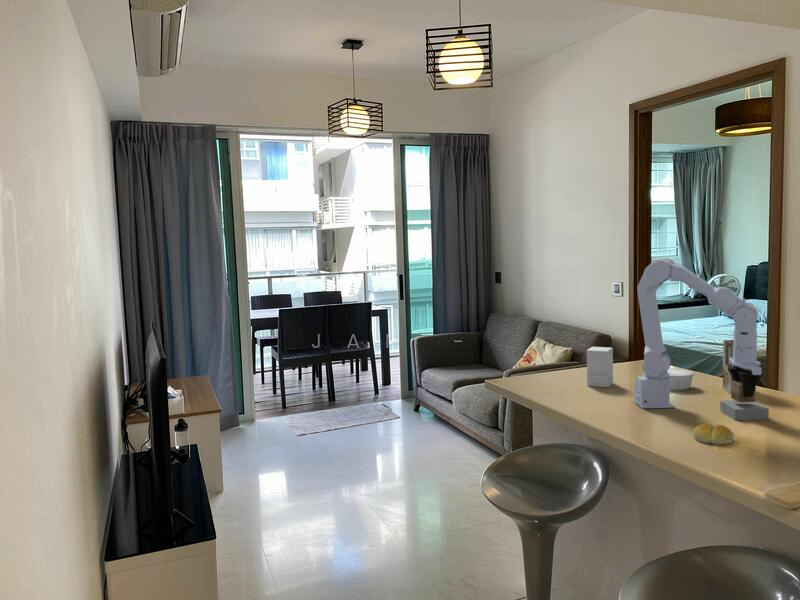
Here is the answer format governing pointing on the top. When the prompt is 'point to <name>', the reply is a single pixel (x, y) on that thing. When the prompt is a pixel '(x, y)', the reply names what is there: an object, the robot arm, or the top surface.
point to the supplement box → (599, 366)
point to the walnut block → (740, 393)
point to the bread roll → (713, 434)
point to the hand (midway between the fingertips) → (744, 394)
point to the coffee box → (727, 364)
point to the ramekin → (680, 379)
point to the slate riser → (744, 410)
